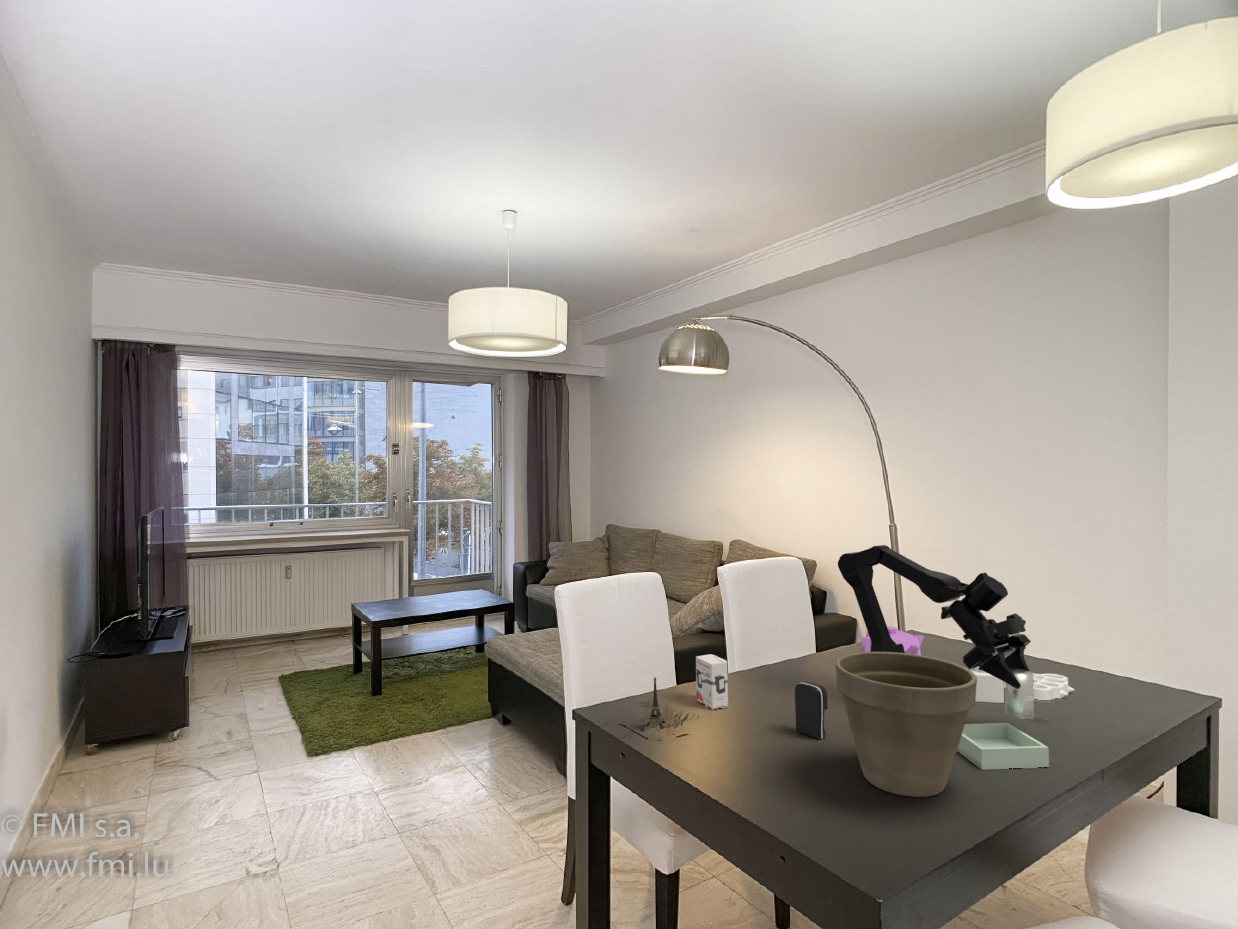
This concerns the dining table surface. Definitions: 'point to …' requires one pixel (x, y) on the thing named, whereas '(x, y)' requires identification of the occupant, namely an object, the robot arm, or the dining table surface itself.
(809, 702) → the battery charger
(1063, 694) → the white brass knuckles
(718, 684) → the ink box
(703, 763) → the dining table surface
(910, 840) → the dining table surface
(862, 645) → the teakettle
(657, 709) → the eiffel tower figurine
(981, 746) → the tray
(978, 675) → the medicine bottle
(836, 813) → the dining table surface
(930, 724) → the plant pot
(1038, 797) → the dining table surface
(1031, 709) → the can
